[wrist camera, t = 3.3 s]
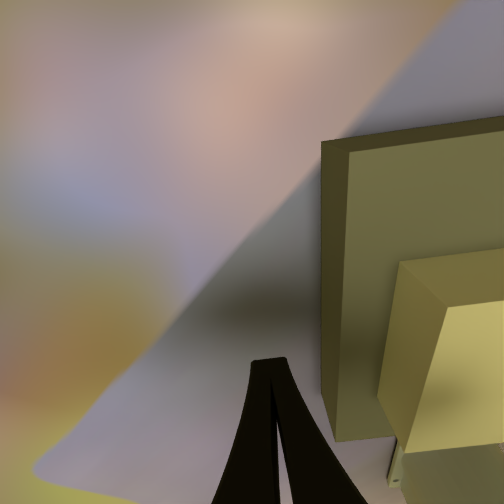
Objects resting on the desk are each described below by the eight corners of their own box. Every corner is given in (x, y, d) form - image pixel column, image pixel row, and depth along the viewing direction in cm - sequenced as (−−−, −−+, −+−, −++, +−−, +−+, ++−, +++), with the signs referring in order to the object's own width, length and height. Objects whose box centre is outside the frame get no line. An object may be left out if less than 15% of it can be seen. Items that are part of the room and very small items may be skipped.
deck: (530, 368, 18) (582, 414, 15) (321, 393, 18) (335, 442, 15) (692, 89, 10) (856, 81, 7) (321, 141, 10) (349, 152, 8)
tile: (497, 382, 13) (549, 437, 11) (376, 396, 13) (404, 453, 11) (569, 239, 9) (672, 279, 7) (399, 261, 9) (447, 307, 7)
